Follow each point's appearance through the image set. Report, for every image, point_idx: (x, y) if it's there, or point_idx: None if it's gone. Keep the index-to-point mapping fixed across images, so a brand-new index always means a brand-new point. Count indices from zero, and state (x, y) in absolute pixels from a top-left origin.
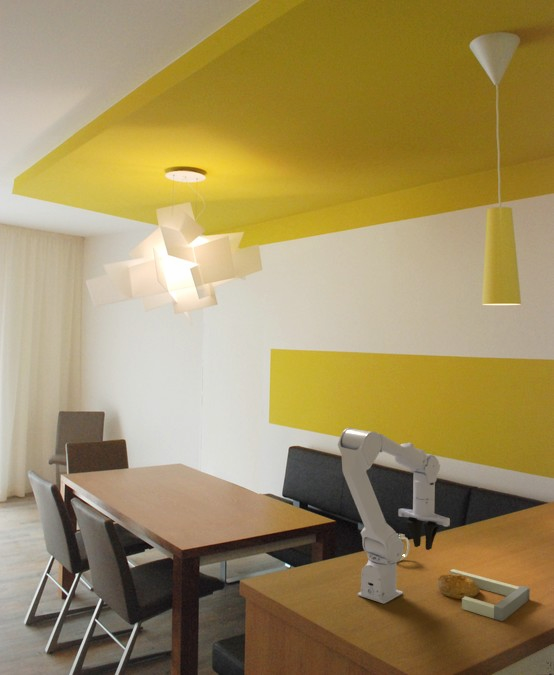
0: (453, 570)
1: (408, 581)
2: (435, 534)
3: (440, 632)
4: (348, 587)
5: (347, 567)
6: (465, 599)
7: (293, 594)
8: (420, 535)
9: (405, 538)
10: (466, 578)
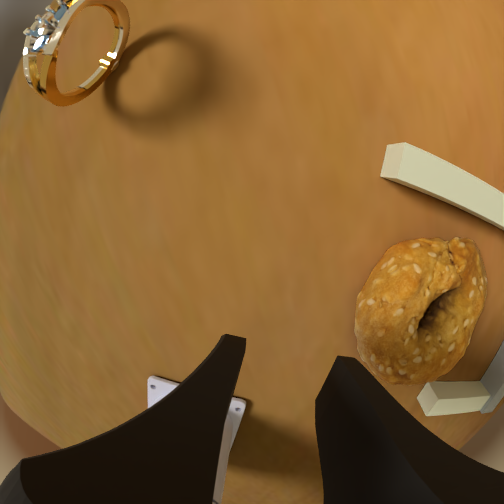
0: (412, 163)
1: (222, 288)
2: (431, 440)
3: None
4: (105, 400)
5: (20, 261)
6: (433, 415)
7: (72, 440)
8: (232, 391)
9: (76, 13)
10: (468, 285)
